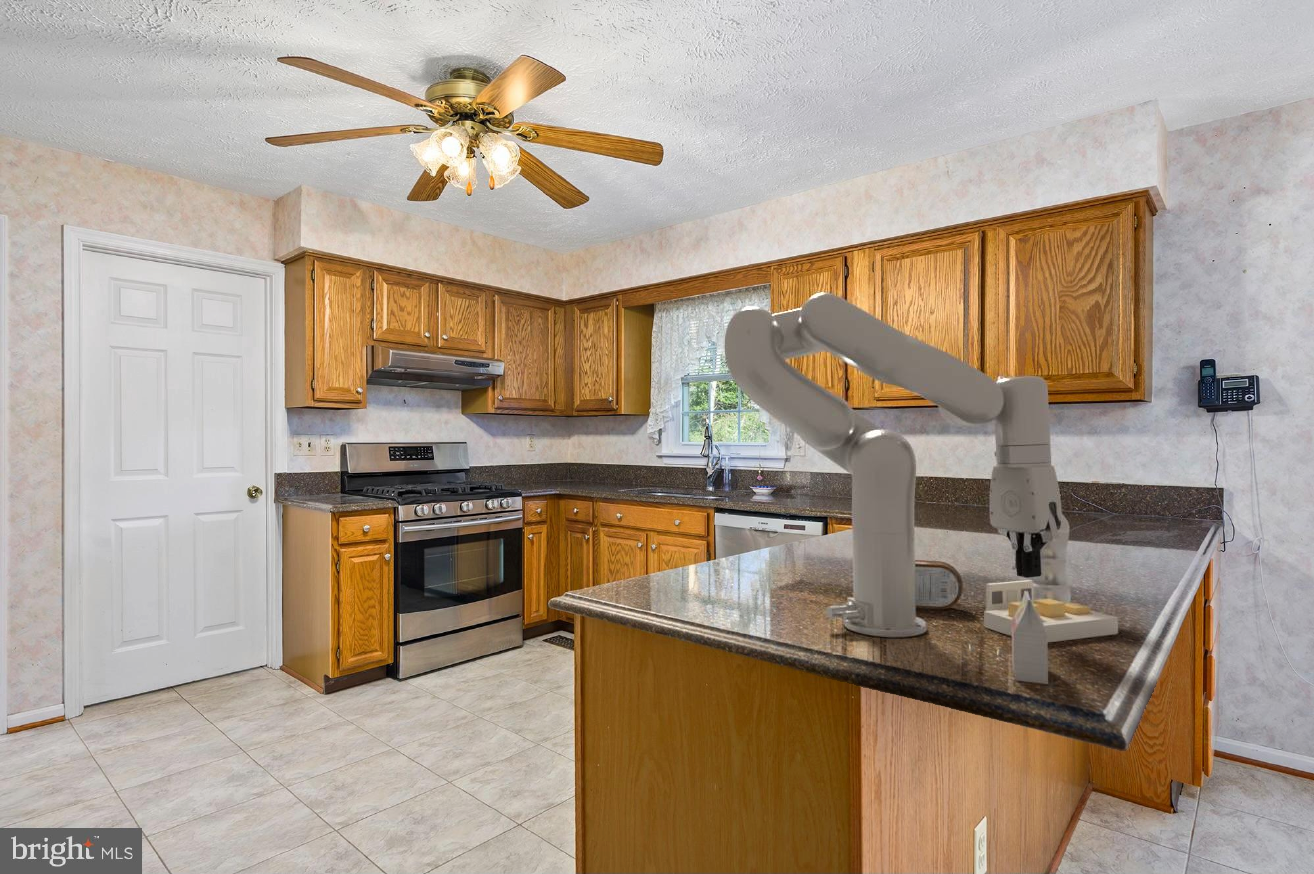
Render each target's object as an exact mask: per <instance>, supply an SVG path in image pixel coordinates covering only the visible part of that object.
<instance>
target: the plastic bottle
mask: <svg viewBox="0 0 1314 874" xmlns="http://www.w3.org/2000/svg"><path fill="white" fill-rule="evenodd" d="M1070 527H1071V526H1070V524H1069V521H1068V520H1067V518H1066V517H1065V515H1064V514H1063V513H1062V524H1061V528H1060V529H1059V530H1058V534H1059V539H1058V540H1056V541H1050V542H1047V543H1046V544H1045V545H1044V549H1043V550H1042V551H1040V556H1041V576H1038V577H1030V580H1031V581H1033V604H1034V600H1042V599H1052V600H1056V601H1060V602H1064V603H1065V604H1066V603H1071V597H1072V596H1071V590H1070V589H1071V588H1070V586H1069V582H1068V571H1067V553H1068V552H1067V551H1068V550H1067V549H1068V543H1069V538H1070ZM1033 537H1034V536H1033Z"/></svg>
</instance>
